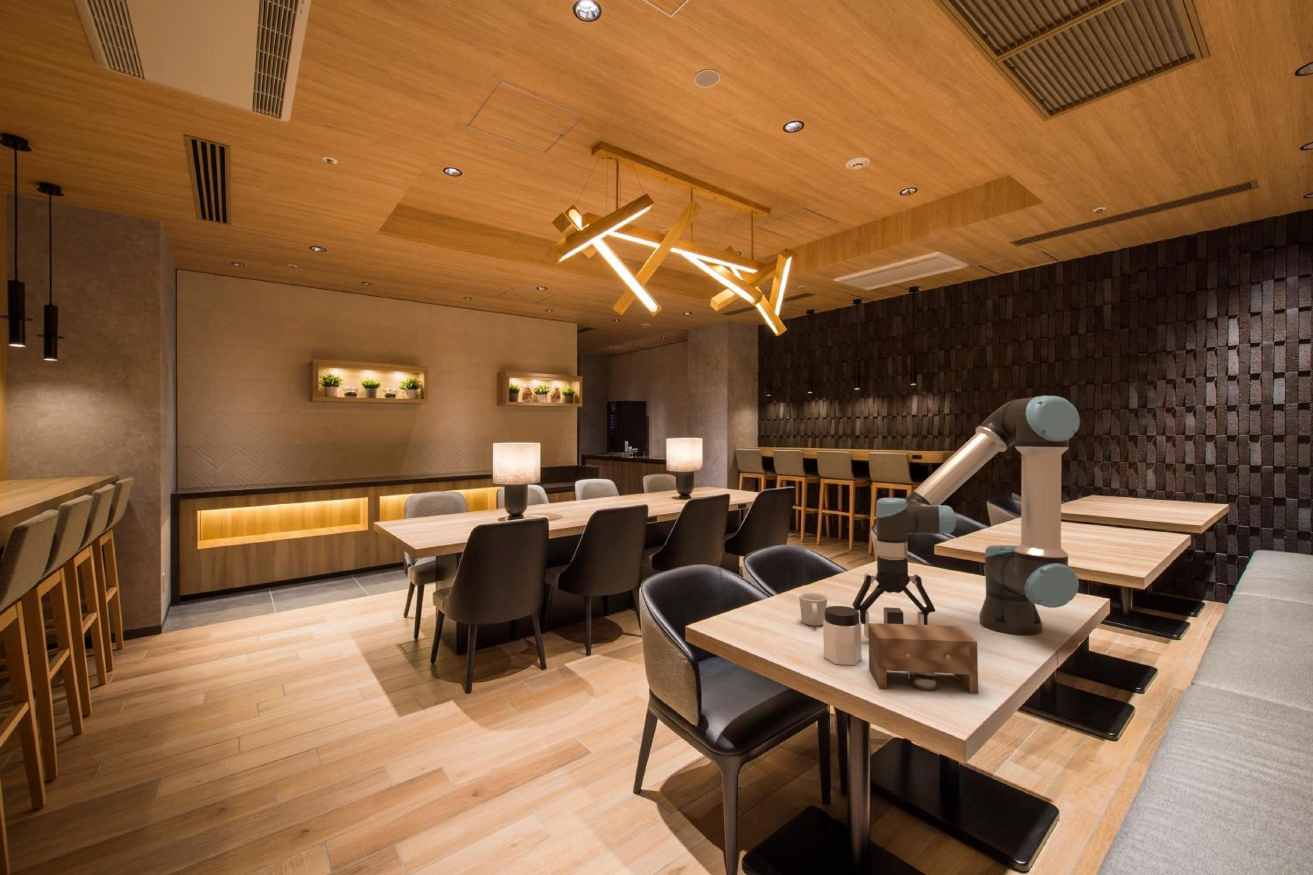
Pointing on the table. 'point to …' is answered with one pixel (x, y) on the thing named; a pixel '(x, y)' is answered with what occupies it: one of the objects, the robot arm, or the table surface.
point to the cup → (813, 608)
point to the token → (924, 681)
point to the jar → (842, 635)
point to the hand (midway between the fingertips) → (893, 637)
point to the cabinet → (922, 652)
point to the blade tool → (893, 616)
